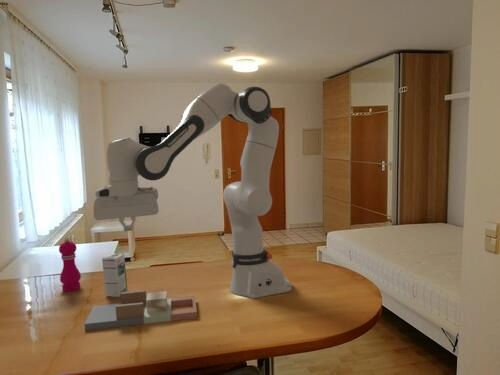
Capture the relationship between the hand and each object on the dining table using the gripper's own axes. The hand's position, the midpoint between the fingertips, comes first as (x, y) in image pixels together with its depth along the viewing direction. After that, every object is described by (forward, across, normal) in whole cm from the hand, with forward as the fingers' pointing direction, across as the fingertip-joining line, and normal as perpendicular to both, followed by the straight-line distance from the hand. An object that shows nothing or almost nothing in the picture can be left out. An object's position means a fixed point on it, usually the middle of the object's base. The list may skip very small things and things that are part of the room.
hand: (128, 230), depth 131 cm
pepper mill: (+26, +26, -23) cm, 43 cm away
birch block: (+24, -7, +8) cm, 27 cm away
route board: (+26, -4, +8) cm, 28 cm away
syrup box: (+26, +8, -13) cm, 30 cm away
